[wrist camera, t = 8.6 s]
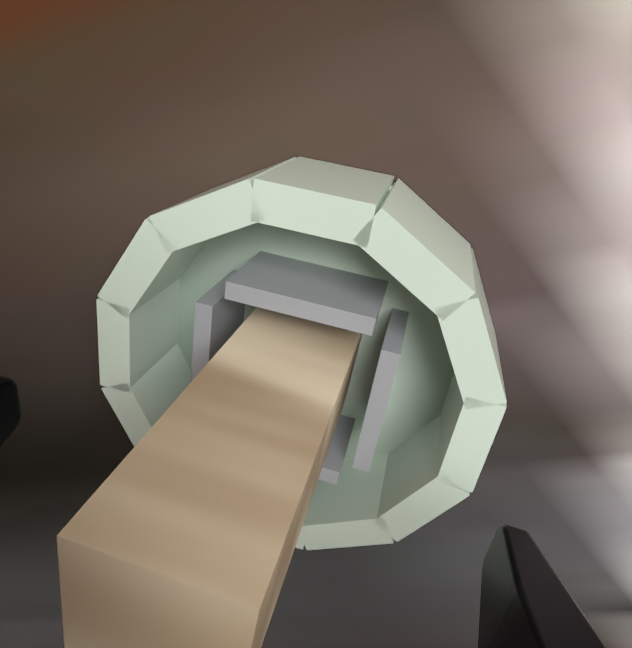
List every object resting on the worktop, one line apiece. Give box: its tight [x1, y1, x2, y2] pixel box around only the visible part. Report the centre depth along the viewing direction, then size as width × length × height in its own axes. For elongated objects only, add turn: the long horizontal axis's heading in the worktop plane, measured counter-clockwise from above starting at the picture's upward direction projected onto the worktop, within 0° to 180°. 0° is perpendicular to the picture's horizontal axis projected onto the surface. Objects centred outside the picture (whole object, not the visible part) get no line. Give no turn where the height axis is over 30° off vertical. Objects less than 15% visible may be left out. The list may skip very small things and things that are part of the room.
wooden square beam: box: [57, 307, 362, 648], centre depth 10 cm, size 2×2×8 cm
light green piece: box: [96, 157, 507, 550], centre depth 13 cm, size 9×9×3 cm
